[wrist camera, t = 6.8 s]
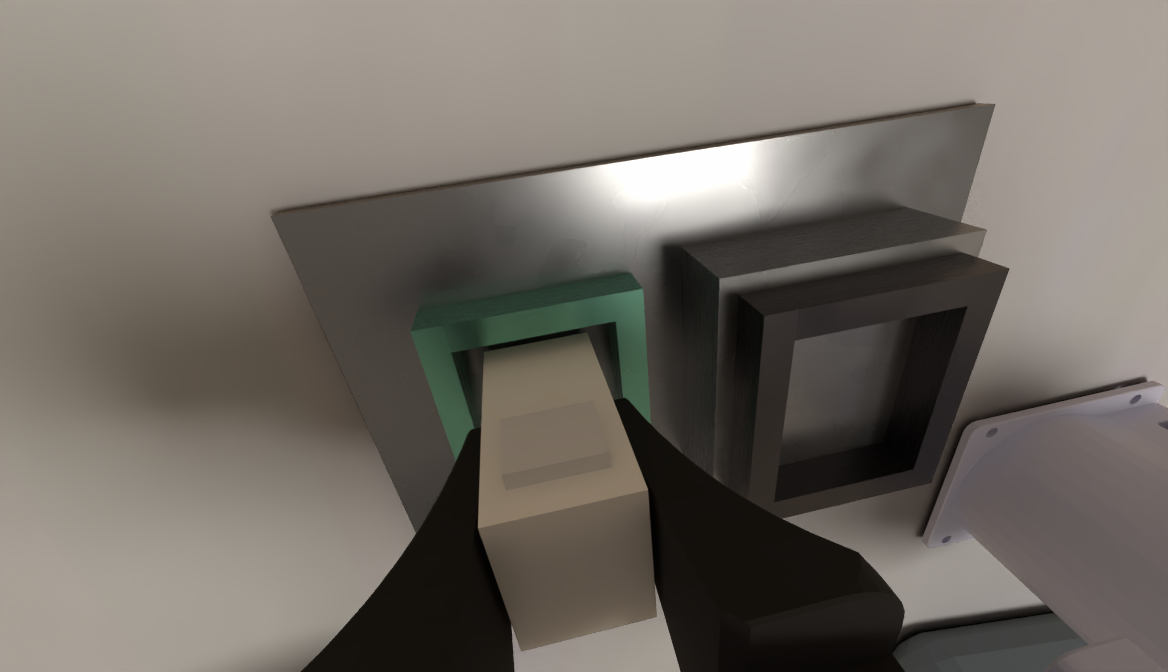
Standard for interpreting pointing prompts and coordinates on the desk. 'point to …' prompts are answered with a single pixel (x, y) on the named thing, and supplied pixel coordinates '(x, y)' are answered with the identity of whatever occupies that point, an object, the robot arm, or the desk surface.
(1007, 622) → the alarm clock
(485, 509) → the plug
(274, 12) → the desk surface
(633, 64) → the desk surface
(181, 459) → the desk surface
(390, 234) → the jack panel
